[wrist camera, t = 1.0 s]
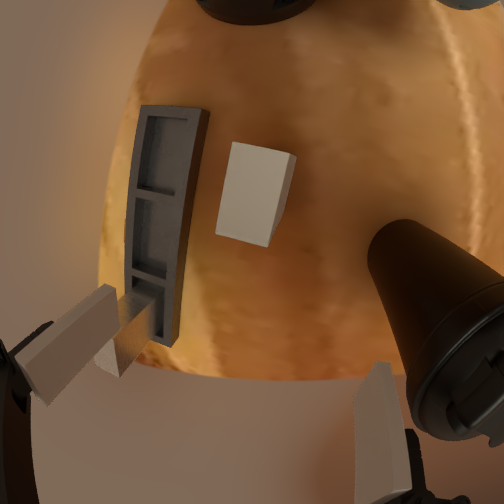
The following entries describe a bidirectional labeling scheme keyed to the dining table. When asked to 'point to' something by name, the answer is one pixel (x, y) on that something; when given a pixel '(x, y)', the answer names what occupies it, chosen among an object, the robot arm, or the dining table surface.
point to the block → (254, 193)
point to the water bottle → (443, 330)
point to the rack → (156, 230)
